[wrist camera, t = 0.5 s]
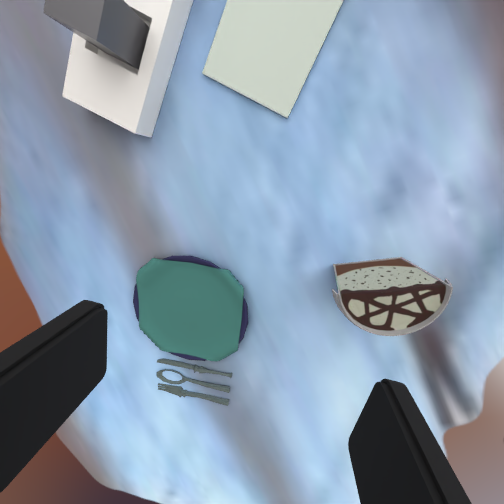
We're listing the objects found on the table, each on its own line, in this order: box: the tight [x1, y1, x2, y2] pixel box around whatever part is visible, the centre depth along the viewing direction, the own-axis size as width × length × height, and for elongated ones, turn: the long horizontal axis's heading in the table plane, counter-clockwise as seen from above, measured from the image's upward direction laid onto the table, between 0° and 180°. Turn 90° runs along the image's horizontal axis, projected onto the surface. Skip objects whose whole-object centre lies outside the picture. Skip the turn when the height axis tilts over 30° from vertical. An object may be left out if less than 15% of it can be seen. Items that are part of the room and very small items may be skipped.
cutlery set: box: [133, 256, 248, 406], centre depth 44 cm, size 20×30×2 cm, turn 174°
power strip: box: [63, 0, 193, 137], centre depth 28 cm, size 26×10×5 cm, turn 154°
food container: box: [332, 257, 453, 336], centre depth 33 cm, size 12×6×10 cm, turn 100°
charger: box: [44, 0, 150, 70], centre depth 26 cm, size 4×6×8 cm
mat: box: [202, 0, 344, 118], centre depth 29 cm, size 14×12×1 cm
